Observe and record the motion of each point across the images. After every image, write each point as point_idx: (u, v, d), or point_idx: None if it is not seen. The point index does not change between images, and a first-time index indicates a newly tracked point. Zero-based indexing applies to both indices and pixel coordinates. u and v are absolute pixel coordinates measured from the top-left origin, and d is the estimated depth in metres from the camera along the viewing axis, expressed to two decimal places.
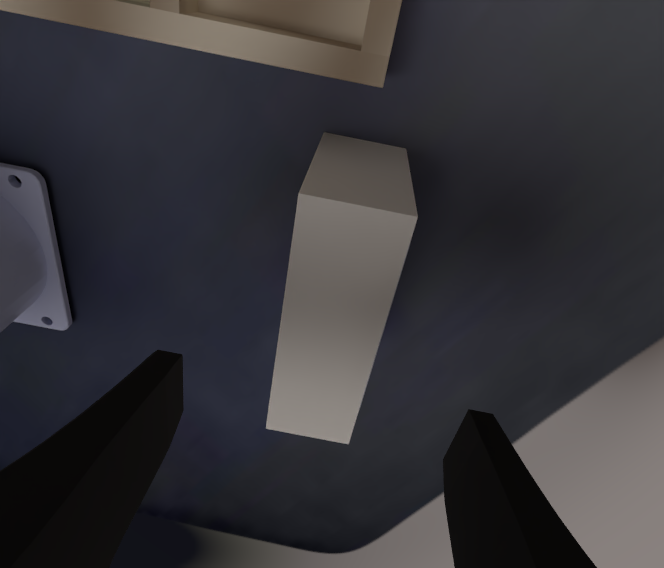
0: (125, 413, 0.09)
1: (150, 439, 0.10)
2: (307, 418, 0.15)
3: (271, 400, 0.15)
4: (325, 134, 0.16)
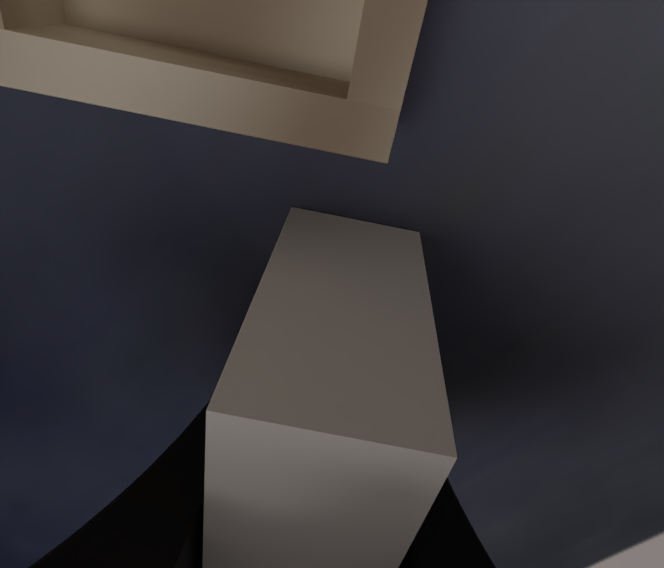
0: None
1: None
2: None
3: None
4: (292, 213, 0.10)
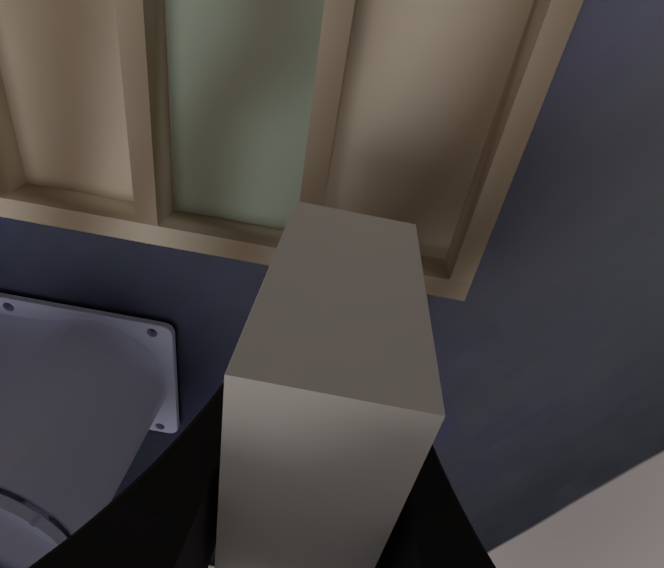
0: None
1: None
2: None
3: None
4: (297, 207, 0.11)
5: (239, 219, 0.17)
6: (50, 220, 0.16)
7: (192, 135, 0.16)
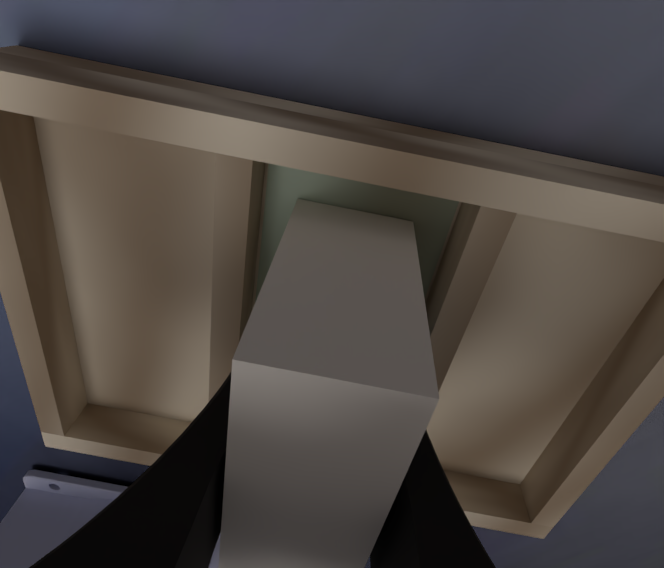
0: (225, 432, 0.09)
1: None
2: None
3: None
4: (298, 204, 0.11)
5: None
6: (116, 456, 0.16)
7: None
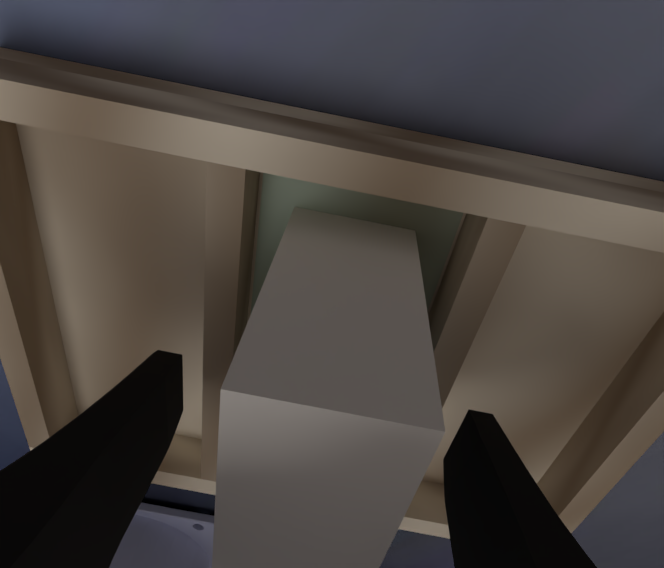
0: (125, 413, 0.09)
1: (150, 439, 0.10)
2: None
3: None
4: (295, 213, 0.11)
5: None
6: None
7: None
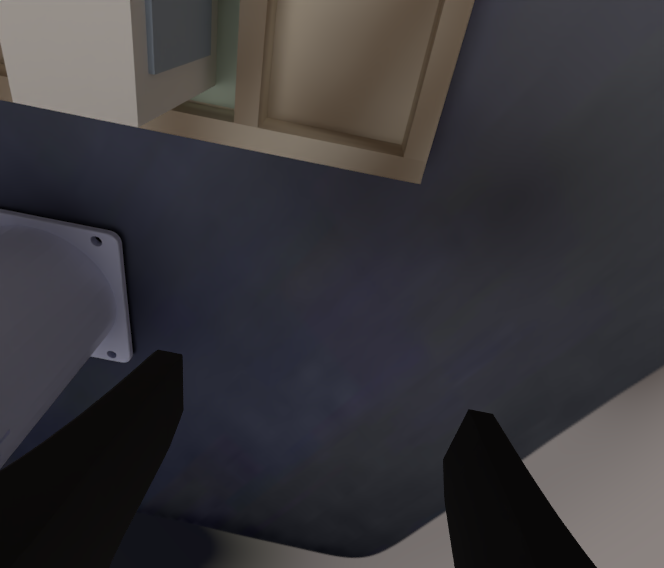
0: (125, 413, 0.09)
1: (150, 439, 0.10)
2: (64, 71, 0.10)
3: (0, 31, 0.10)
4: None
5: None
6: None
7: None
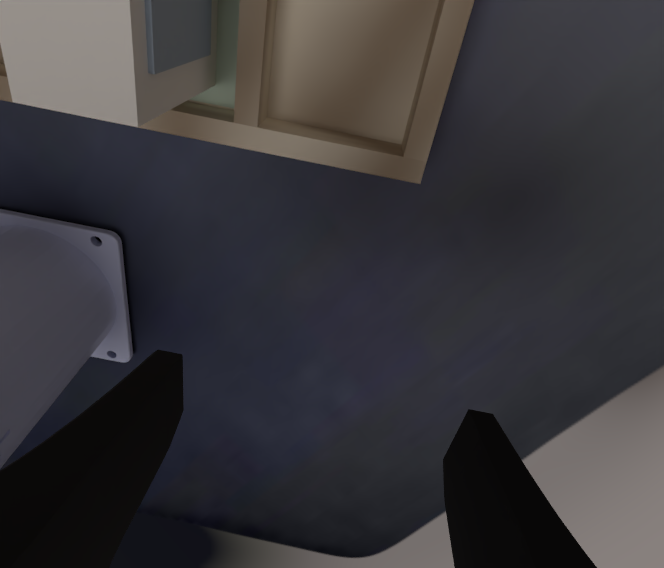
0: (125, 413, 0.09)
1: (150, 439, 0.10)
2: (64, 71, 0.10)
3: (0, 31, 0.10)
4: None
5: None
6: None
7: None
